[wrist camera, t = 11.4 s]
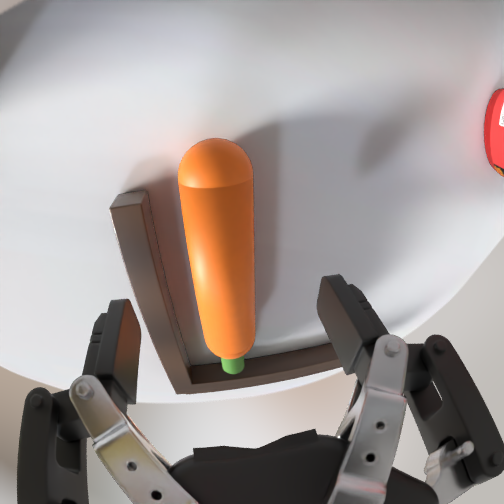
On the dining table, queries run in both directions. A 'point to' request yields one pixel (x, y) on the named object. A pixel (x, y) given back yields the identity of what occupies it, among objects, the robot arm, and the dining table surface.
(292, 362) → the corner guide
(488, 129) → the canned food
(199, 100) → the dining table surface
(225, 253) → the carrot
